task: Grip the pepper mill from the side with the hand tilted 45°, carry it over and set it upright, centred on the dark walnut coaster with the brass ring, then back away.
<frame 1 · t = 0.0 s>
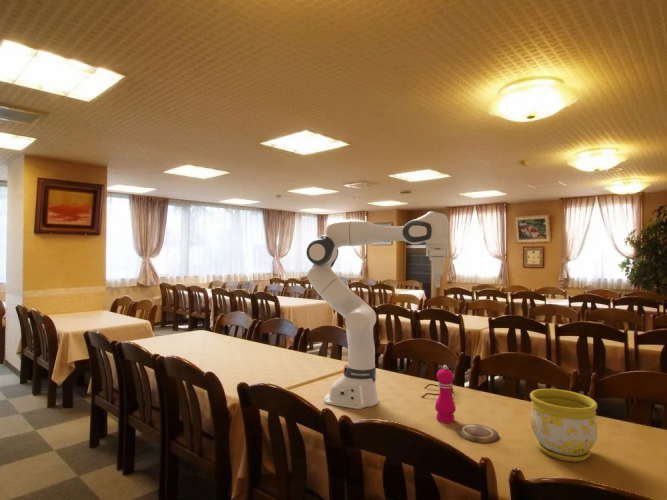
hand: (437, 286, 160), 48 cm above the table, tool pointing down, fingers open, 8 cm apart
glasses: (437, 395, 175), on the table
pepper mill: (445, 420, 147), on the table
flowerpot: (562, 452, 123), on the table
coaster: (477, 434, 135), on the table
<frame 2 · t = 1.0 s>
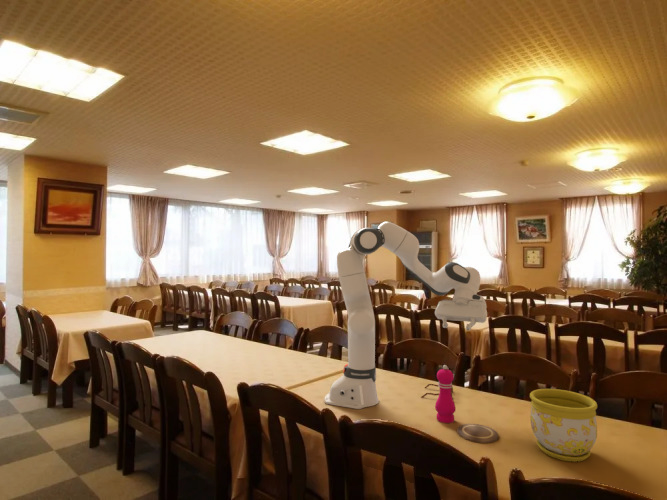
hand: (456, 328, 158), 32 cm above the table, tool tilted 45°, fingers open, 8 cm apart
nothing on the table moved.
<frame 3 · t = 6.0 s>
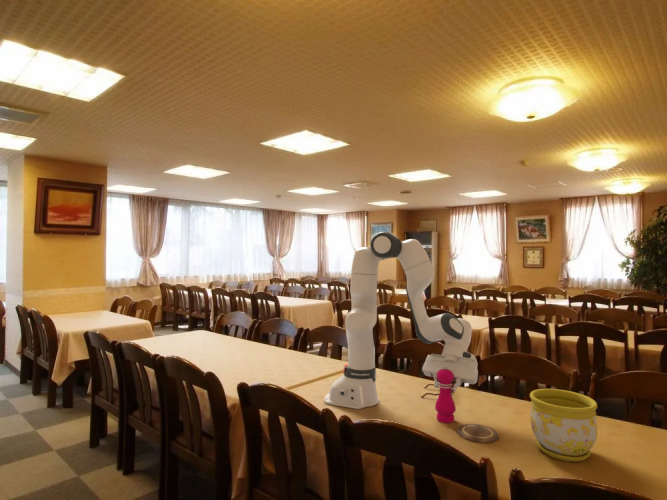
hand: (444, 388, 147), 11 cm above the table, tool tilted 45°, fingers closed on pepper mill, 5 cm apart
pepper mill: (445, 420, 147), on the table, touching gripper
everything else where it was.
when the fingers open (14 cm above the table, at t = 12.7 s): pepper mill stays where it is, resting on coaster.
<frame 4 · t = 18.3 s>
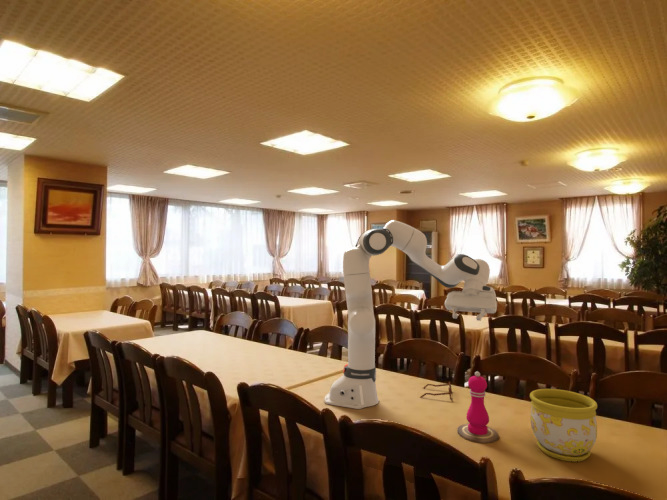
hand: (466, 318, 159), 35 cm above the table, tool tilted 45°, fingers open, 8 cm apart
pepper mill: (477, 431, 135), point 1 cm above the table, touching coaster
everything else where it was.
at the end: pepper mill 0.1 cm off-centre on the coaster, point 0.8 cm above the coaster's base; pepper mill tilted 0°; the gripper is holding nothing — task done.
